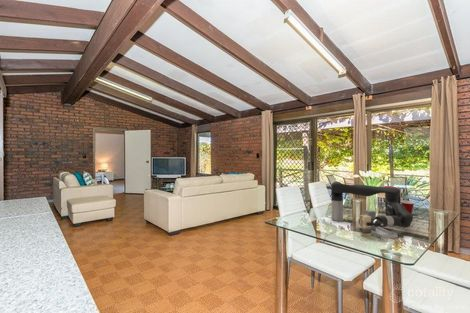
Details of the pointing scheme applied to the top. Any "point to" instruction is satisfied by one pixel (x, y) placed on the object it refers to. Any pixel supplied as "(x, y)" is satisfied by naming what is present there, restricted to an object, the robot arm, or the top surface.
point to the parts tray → (382, 233)
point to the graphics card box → (389, 208)
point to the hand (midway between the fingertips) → (362, 222)
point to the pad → (366, 237)
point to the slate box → (372, 214)
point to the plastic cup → (408, 205)
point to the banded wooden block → (365, 226)
